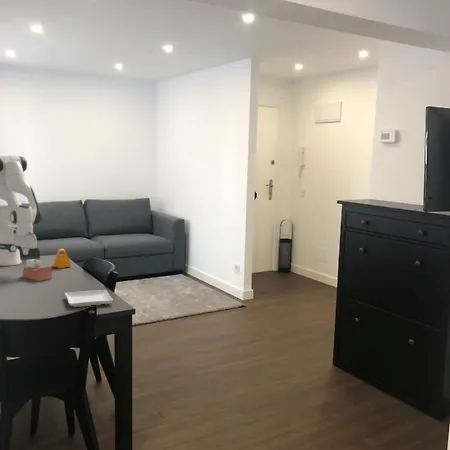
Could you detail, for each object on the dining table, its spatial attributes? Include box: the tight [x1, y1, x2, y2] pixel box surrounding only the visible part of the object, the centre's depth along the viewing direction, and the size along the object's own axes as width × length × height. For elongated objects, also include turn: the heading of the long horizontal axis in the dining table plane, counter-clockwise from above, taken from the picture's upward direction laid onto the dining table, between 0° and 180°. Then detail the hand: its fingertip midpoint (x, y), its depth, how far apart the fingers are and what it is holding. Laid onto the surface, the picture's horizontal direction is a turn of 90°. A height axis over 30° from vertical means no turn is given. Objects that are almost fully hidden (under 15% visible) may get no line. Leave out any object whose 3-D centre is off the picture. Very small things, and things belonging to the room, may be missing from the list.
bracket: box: [52, 248, 71, 269], centre depth 330 cm, size 11×7×12 cm, turn 113°
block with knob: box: [26, 258, 43, 270], centre depth 299 cm, size 8×5×6 cm, turn 53°
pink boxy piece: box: [22, 265, 53, 282], centre depth 297 cm, size 16×9×8 cm, turn 53°
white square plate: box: [64, 289, 114, 308], centre depth 252 cm, size 21×21×3 cm
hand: (25, 254), depth 303 cm, fingers closed
